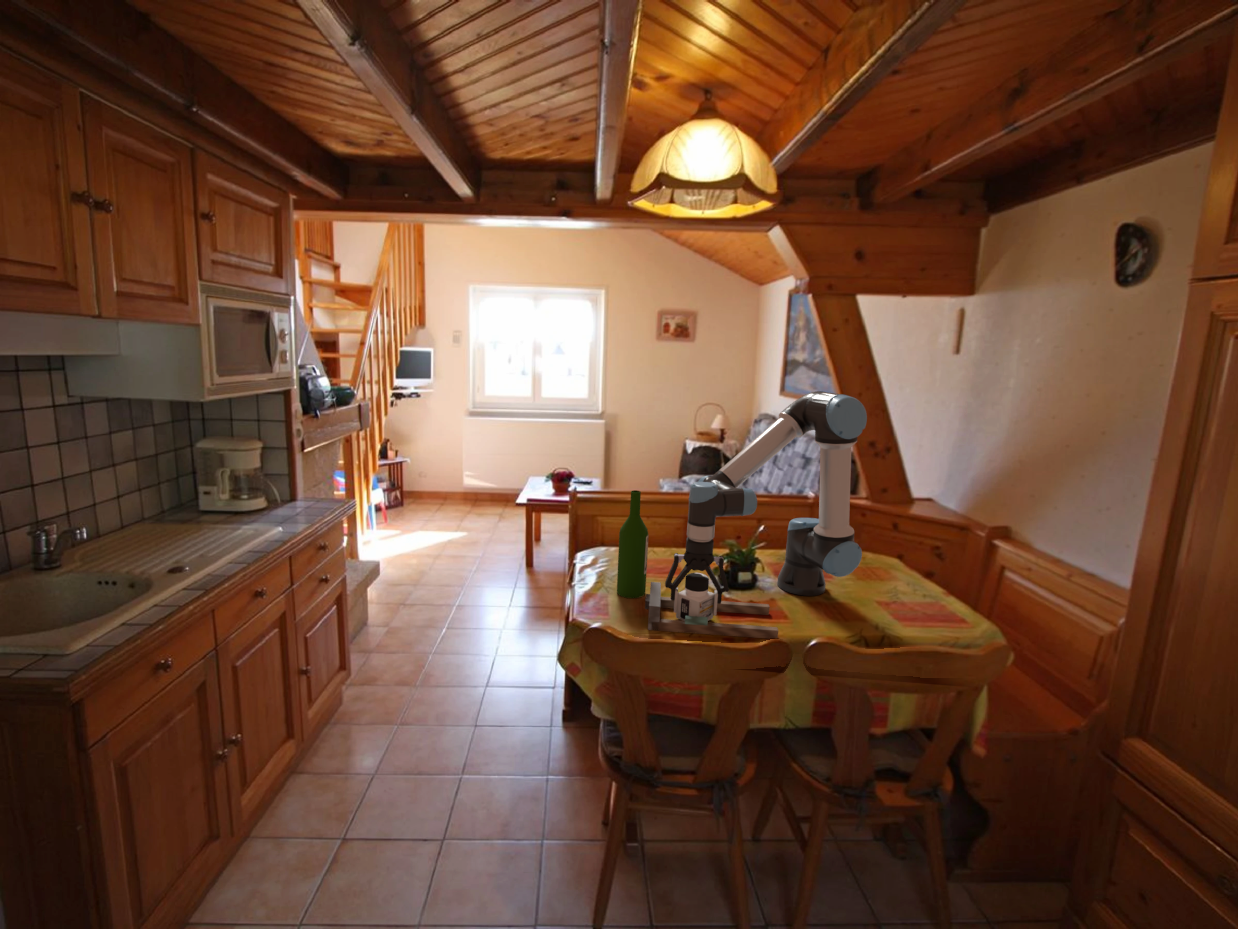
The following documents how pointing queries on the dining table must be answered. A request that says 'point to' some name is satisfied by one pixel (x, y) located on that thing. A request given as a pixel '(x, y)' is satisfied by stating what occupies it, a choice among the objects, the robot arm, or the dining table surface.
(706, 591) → the container
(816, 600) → the dining table surface
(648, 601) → the wooden frame
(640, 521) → the wine bottle
